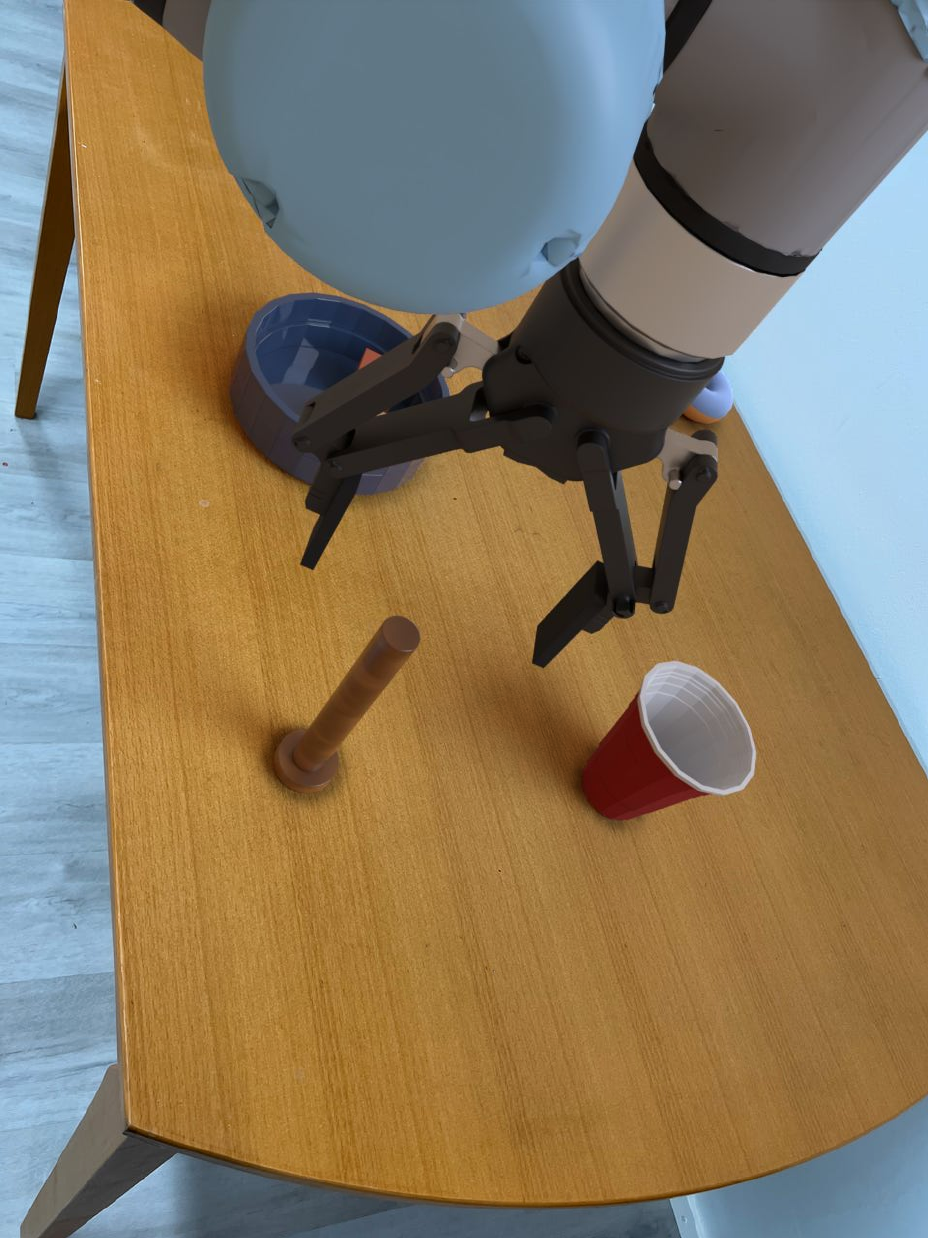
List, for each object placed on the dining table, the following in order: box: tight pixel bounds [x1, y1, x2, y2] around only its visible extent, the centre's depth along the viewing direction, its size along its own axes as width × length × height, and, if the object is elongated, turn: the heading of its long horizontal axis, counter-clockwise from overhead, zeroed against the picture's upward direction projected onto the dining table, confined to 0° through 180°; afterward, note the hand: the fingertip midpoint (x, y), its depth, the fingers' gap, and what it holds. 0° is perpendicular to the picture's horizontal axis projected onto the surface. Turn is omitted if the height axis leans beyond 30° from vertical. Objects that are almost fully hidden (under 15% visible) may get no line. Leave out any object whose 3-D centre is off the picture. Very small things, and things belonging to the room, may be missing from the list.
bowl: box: [228, 291, 451, 496], centre depth 86 cm, size 19×19×6 cm
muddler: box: [273, 615, 421, 794], centre depth 62 cm, size 4×4×18 cm
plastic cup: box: [581, 660, 757, 822], centre depth 75 cm, size 11×11×12 cm
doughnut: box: [682, 369, 734, 425], centre depth 115 cm, size 10×10×5 cm
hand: (429, 599), depth 53 cm, fingers open, 13 cm apart
